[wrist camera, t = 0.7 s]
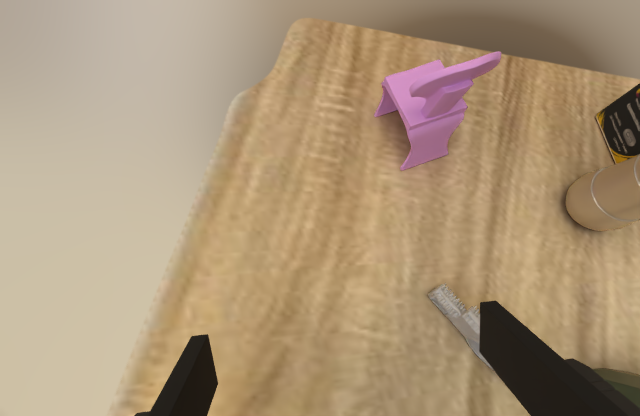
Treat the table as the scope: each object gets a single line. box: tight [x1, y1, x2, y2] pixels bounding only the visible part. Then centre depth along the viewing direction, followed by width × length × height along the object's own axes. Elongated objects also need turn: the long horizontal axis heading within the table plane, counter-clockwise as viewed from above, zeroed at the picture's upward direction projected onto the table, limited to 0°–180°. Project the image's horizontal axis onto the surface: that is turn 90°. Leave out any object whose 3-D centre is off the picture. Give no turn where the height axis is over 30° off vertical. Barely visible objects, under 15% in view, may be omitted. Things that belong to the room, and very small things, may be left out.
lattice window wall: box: [428, 283, 494, 371], centre depth 30 cm, size 12×2×6 cm, turn 39°
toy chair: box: [374, 52, 501, 171], centre depth 33 cm, size 8×9×15 cm
